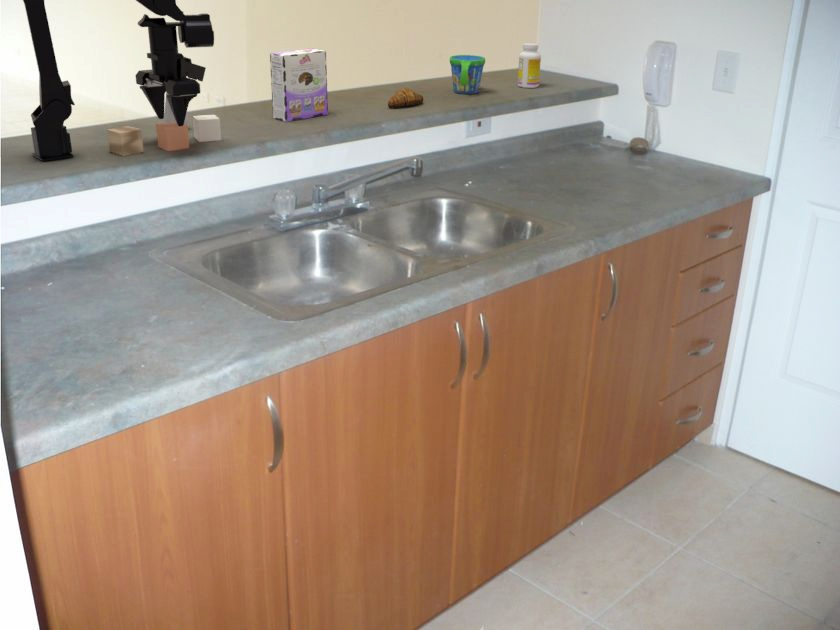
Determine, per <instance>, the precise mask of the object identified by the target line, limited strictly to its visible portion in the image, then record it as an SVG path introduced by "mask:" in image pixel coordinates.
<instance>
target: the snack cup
mask: <svg viewBox="0 0 840 630" xmlns="http://www.w3.org/2000/svg"><path fill="white" fill-rule="evenodd" d="M449 63H450V67H451V70H450V71H451V79H452V87H453V91H454V92H455V93H457V94H460V95H475V94H477V93H478V92H479V90H480V86H481V81H482V77H483V76H482V74H483V73H484V72H483V70H484V66H485V64H486V58H485V57H484V56H480V55H471V54H457V55H451V56H450V57H449Z"/></svg>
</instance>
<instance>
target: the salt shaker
mask: <svg viewBox="0 0 840 630" xmlns="http://www.w3.org/2000/svg"><path fill="white" fill-rule="evenodd" d="M166 95H169V94H168V93H167V91H166V92H165V102H164V119H163V121H164V123H172V122H176V120H175V117H174V115H173V112H172V110H171V107H170V105H169V102H168V99H167V97H166ZM189 122H190V119H189V115H188V111H187V112H186V117H185V121H184V125H187V126H189Z"/></svg>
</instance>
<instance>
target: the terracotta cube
mask: <svg viewBox="0 0 840 630" xmlns="http://www.w3.org/2000/svg"><path fill="white" fill-rule="evenodd" d="M188 126H189V125H183V126H178V124H177V122H172V123H165V122H164V123H158V124H155V129H156V137H157V138H156V139H157V147H158V148H160V149H161V150H162V149H163V150H165V151H167V152H172V151H178V150H185V149H190V138H189V127H188Z"/></svg>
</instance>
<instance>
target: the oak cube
mask: <svg viewBox="0 0 840 630" xmlns="http://www.w3.org/2000/svg"><path fill="white" fill-rule="evenodd" d="M106 132H107V138H108V146H109V153H111V152H113V153H112V154H114V153H116V154H115V155H118V154H119V155H118V156H121V155H122V156H121V157H126V155H127V156H132V155H137V154H140V153H141V152H142V153H144V152H145V151H144V142H143V134H142V129H141V128H137V127H133V126H129V125H125V126H119V127H113V128H108V129H106ZM131 154H132V155H131Z"/></svg>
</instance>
